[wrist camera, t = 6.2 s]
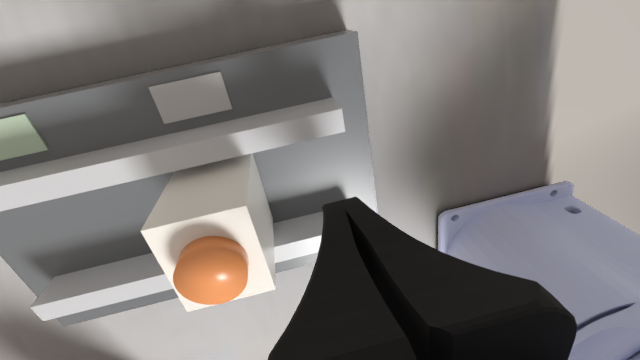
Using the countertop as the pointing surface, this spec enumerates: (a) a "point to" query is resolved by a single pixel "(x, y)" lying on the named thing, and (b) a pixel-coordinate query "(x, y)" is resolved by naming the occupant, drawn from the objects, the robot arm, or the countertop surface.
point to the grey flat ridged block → (175, 165)
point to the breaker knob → (214, 233)
